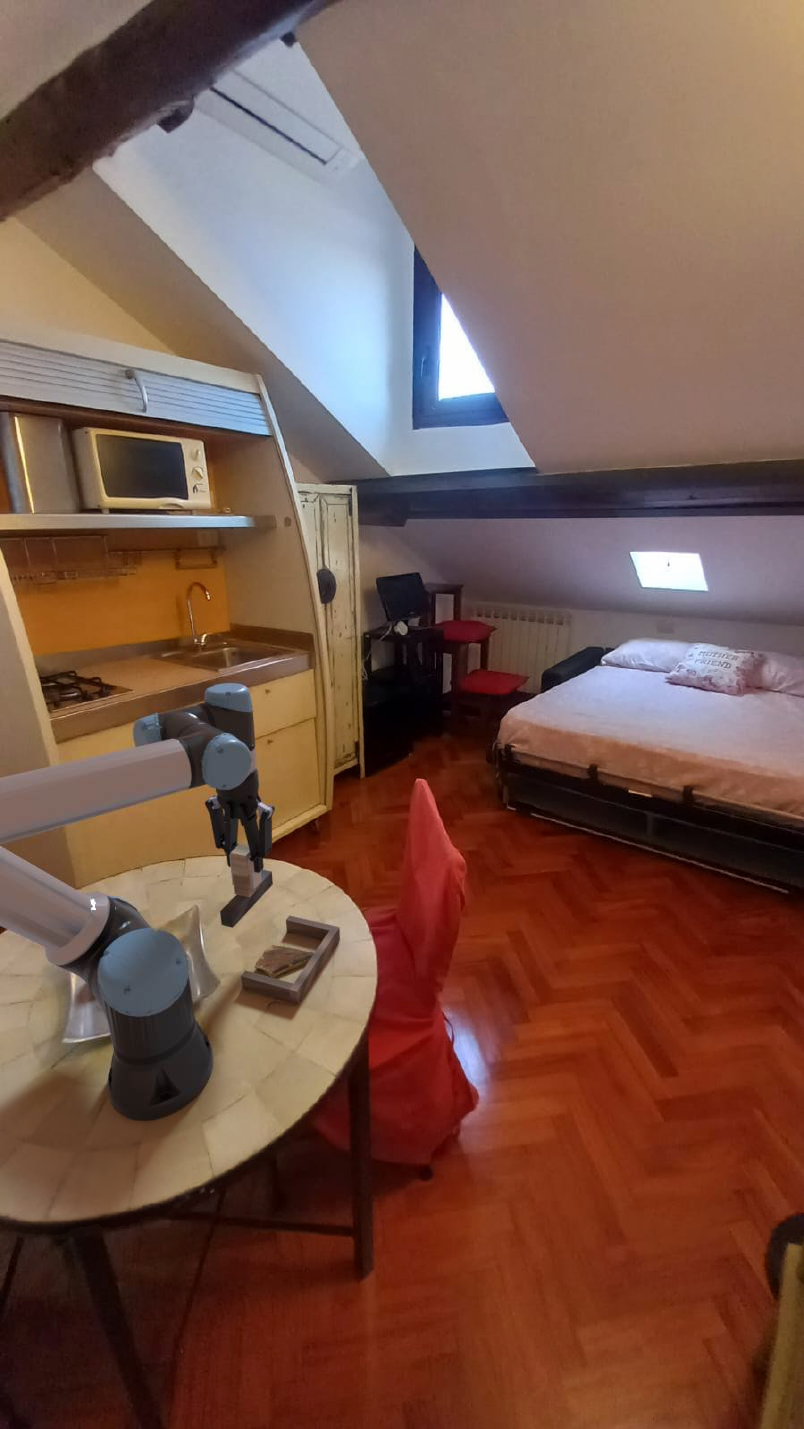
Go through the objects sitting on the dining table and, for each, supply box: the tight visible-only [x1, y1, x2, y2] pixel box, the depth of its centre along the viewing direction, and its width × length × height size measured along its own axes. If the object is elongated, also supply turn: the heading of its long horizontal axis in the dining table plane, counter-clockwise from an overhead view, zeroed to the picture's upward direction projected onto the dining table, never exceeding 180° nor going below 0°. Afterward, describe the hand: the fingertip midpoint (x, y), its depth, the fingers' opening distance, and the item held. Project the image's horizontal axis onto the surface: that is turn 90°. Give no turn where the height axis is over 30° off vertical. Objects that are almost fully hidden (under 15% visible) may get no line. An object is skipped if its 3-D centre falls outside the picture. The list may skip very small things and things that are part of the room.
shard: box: [254, 944, 315, 979], centre depth 115 cm, size 11×8×2 cm
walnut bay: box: [240, 915, 341, 1006], centre depth 115 cm, size 18×12×3 cm, turn 161°
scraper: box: [219, 843, 274, 929], centre depth 112 cm, size 14×3×12 cm, turn 161°
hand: (247, 882), depth 113 cm, fingers closed on scraper, 3 cm apart
